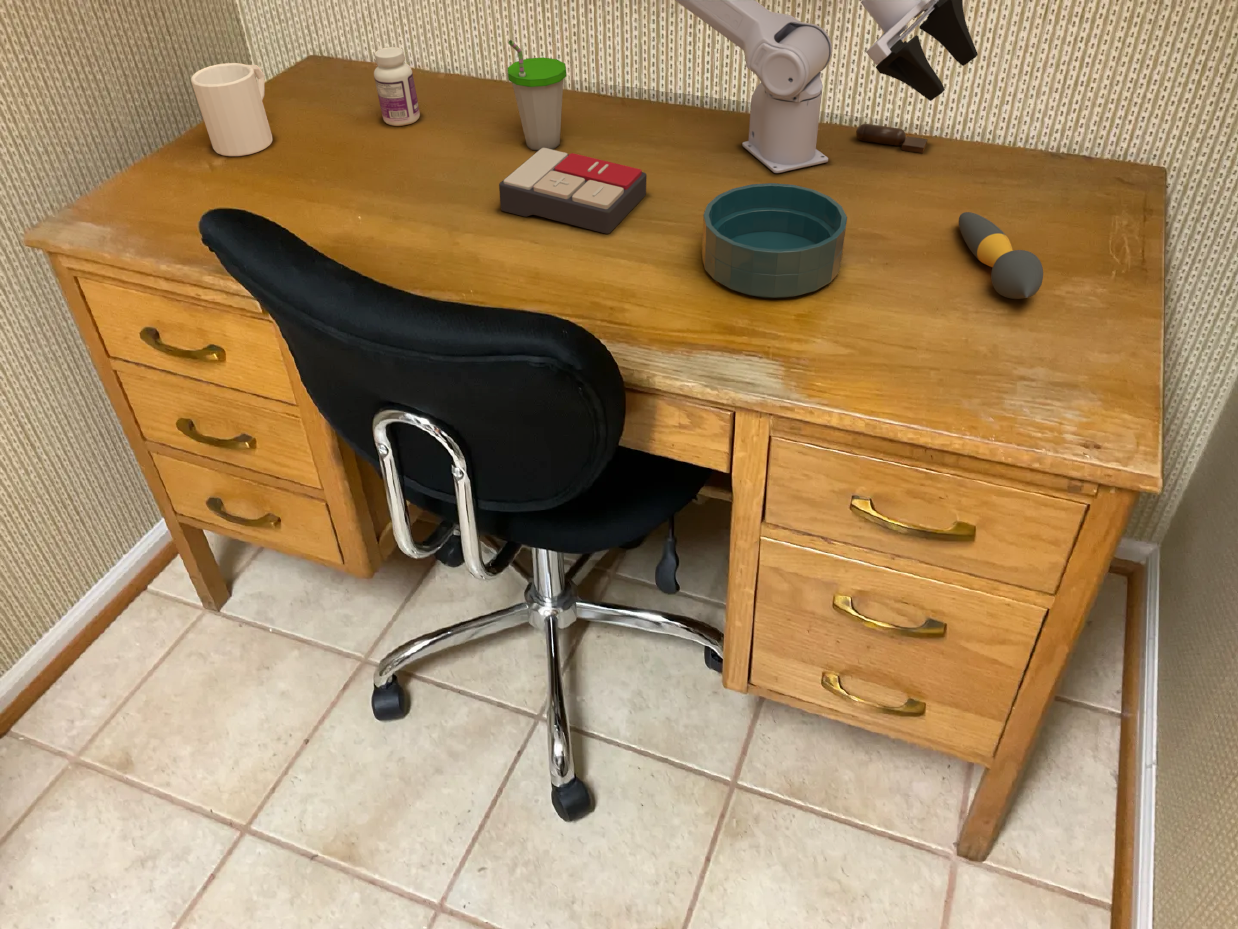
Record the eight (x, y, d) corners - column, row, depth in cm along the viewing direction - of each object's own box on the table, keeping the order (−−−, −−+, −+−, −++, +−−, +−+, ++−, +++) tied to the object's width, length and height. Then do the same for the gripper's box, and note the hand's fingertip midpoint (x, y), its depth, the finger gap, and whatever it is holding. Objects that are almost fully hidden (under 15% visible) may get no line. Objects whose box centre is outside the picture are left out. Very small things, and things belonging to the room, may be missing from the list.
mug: (299, 124, 141) (281, 55, 134) (250, 159, 133) (229, 87, 126) (252, 118, 143) (232, 50, 136) (201, 152, 135) (178, 81, 128)
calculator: (609, 206, 112) (496, 178, 117) (608, 239, 115) (499, 210, 120) (648, 166, 119) (541, 141, 124) (647, 198, 122) (542, 172, 127)
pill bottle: (402, 108, 144) (389, 41, 138) (427, 116, 142) (416, 48, 135) (375, 121, 141) (361, 53, 134) (401, 129, 139) (388, 61, 132)
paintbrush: (930, 228, 113) (938, 188, 110) (970, 223, 114) (979, 183, 111) (1009, 322, 99) (1022, 280, 96) (1055, 316, 100) (1069, 274, 96)
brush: (852, 142, 131) (854, 127, 129) (857, 134, 133) (860, 118, 131) (922, 153, 128) (925, 137, 126) (926, 144, 130) (929, 128, 128)
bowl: (680, 247, 112) (681, 199, 108) (796, 220, 116) (801, 172, 112) (741, 315, 101) (744, 264, 97) (866, 282, 105) (874, 232, 101)
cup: (562, 128, 137) (554, 17, 127) (578, 150, 132) (571, 36, 122) (509, 137, 136) (496, 25, 125) (522, 160, 130) (510, 45, 120)
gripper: (868, -6, 103) (946, 94, 106) (937, -71, 109) (1010, 26, 111) (829, 30, 110) (904, 124, 112) (897, -33, 115) (966, 58, 118)
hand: (954, 77), depth 112 cm, fingers open, 7 cm apart
